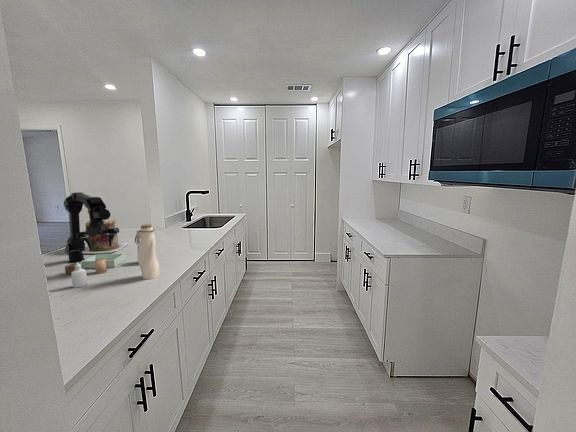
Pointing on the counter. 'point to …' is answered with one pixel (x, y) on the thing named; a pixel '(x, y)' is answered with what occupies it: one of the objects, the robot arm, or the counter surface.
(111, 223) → the cookie jar
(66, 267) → the walnut cube
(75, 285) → the eye dropper bottle
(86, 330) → the counter surface
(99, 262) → the egg
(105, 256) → the box
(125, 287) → the counter surface
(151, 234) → the water bottle
